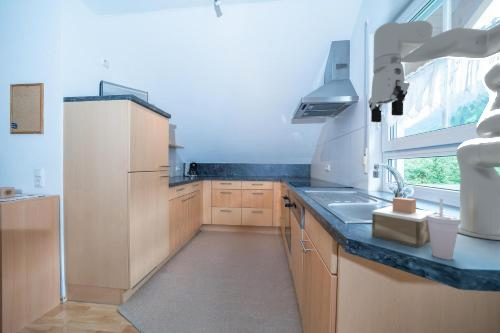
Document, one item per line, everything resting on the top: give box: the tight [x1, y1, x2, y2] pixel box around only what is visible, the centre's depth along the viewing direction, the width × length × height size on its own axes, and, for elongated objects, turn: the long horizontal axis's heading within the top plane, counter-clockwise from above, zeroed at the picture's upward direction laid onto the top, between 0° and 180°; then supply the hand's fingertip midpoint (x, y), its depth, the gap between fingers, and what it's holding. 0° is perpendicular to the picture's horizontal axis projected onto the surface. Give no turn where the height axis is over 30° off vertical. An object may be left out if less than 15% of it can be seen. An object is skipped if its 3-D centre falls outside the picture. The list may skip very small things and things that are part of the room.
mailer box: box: [371, 214, 431, 249], centre depth 67 cm, size 16×12×7 cm
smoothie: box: [426, 198, 461, 261], centre depth 52 cm, size 6×6×14 cm
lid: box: [371, 196, 438, 222], centre depth 67 cm, size 16×12×5 cm
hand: (385, 118), depth 69 cm, fingers open, 9 cm apart
